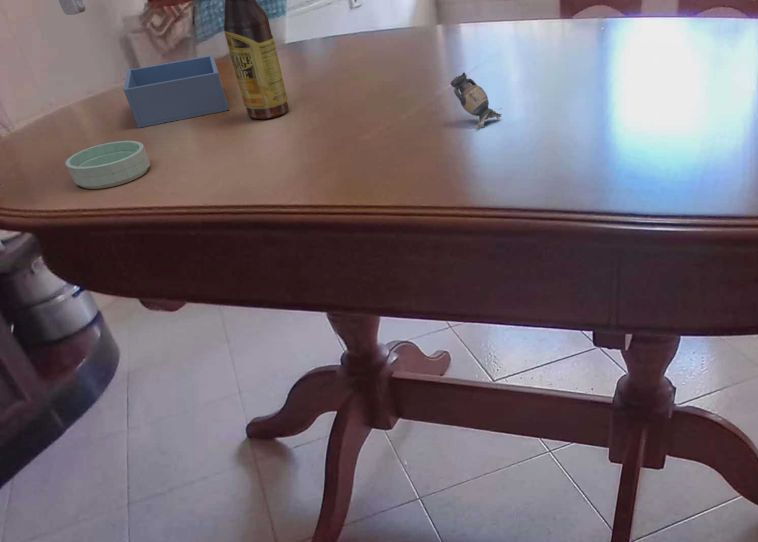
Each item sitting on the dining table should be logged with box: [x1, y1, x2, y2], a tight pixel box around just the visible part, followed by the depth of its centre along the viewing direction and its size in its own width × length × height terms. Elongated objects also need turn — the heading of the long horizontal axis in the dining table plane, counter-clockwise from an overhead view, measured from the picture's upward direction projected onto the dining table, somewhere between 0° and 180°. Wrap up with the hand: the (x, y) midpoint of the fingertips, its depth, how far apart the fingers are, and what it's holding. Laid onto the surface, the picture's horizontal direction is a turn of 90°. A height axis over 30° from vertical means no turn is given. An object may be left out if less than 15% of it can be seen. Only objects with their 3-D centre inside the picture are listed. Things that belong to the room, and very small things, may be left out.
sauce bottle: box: [223, 0, 290, 120], centre depth 97 cm, size 6×6×20 cm
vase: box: [450, 72, 503, 132], centre depth 90 cm, size 5×5×6 cm
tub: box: [123, 54, 230, 129], centre depth 108 cm, size 13×13×6 cm
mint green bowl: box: [64, 140, 151, 190], centre depth 87 cm, size 9×9×3 cm
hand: (106, 4), depth 80 cm, fingers open, 8 cm apart
